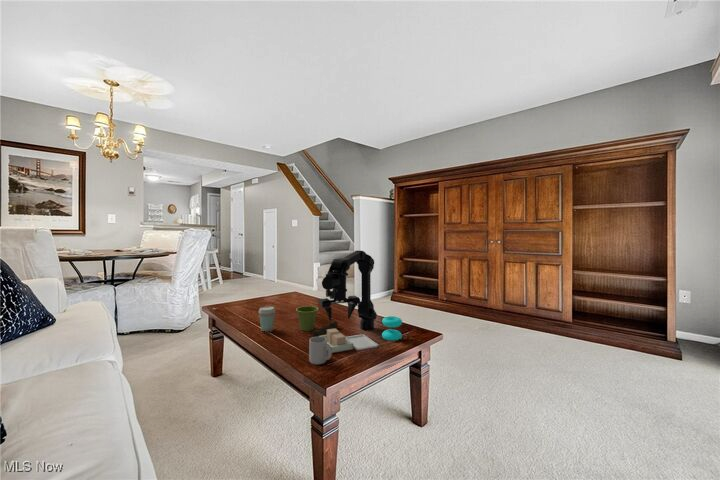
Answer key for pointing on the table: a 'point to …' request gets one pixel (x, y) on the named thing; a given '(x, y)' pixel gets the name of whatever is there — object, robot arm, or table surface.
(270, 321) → the coffee cup
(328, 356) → the cup
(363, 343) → the tray
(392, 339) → the donuts
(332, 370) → the table surface
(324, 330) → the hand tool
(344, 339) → the tan rectangular block
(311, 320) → the plant pot
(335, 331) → the tan rectangular block
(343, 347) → the bin
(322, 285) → the robot arm
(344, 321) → the table surface
